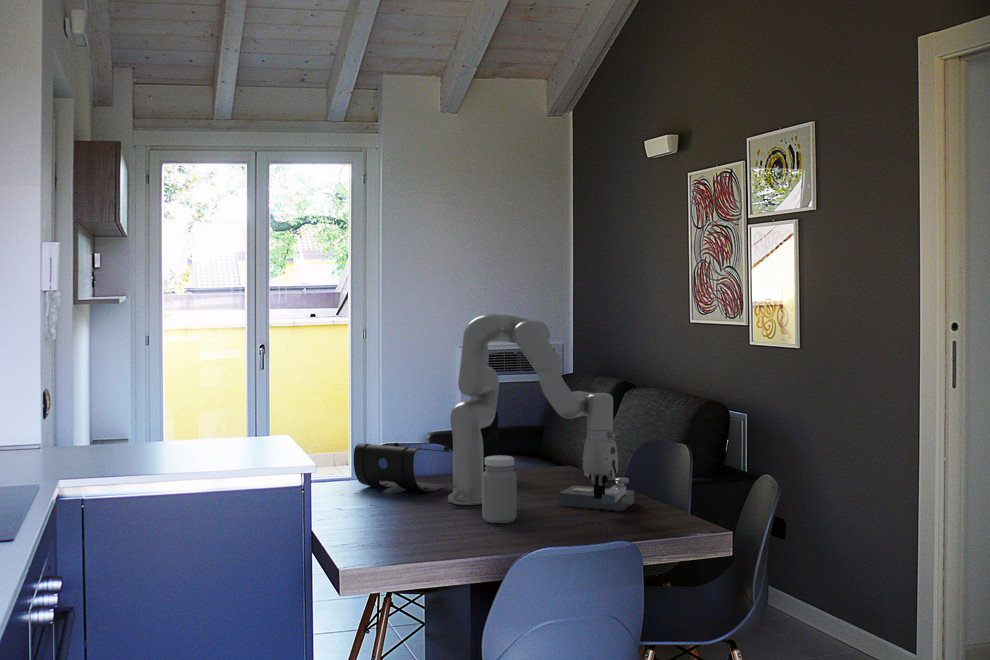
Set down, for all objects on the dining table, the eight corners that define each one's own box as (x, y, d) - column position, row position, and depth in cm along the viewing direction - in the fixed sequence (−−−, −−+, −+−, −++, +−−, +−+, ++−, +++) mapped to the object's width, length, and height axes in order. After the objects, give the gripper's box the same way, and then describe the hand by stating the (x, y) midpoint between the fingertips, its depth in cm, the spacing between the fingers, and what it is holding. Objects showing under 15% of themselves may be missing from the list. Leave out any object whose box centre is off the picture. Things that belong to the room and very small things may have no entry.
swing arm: (629, 490, 275) (629, 477, 275) (615, 503, 256) (615, 489, 256) (616, 489, 277) (616, 477, 277) (601, 502, 258) (601, 488, 258)
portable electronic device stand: (350, 490, 299) (350, 444, 299) (391, 479, 320) (391, 436, 320) (415, 498, 288) (415, 449, 287) (452, 486, 308) (453, 440, 308)
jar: (522, 519, 257) (522, 456, 257) (505, 526, 249) (505, 461, 249) (493, 515, 262) (493, 454, 262) (475, 522, 254) (475, 458, 253)
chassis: (621, 511, 268) (622, 488, 268) (559, 505, 276) (559, 482, 276) (634, 503, 279) (634, 481, 279) (573, 497, 288) (573, 476, 288)
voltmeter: (461, 474, 330) (461, 406, 330) (482, 473, 334) (482, 406, 333) (478, 482, 316) (478, 411, 315) (500, 480, 319) (500, 409, 319)
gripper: (628, 436, 260) (627, 500, 260) (588, 431, 271) (587, 492, 271) (612, 439, 255) (611, 503, 255) (571, 434, 265) (571, 496, 266)
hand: (599, 497), depth 263 cm, fingers closed
